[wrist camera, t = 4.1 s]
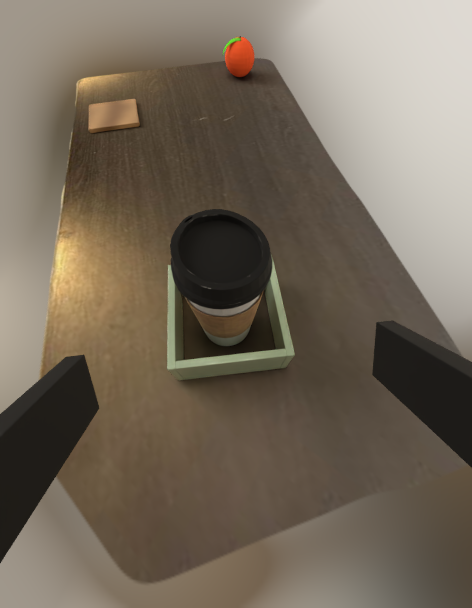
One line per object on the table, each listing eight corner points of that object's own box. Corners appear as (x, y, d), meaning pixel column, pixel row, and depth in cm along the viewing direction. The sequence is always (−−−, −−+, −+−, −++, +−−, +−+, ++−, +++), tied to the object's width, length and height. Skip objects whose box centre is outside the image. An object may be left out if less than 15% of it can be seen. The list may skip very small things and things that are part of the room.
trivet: (90, 133, 53) (88, 129, 52) (90, 108, 57) (88, 104, 57) (139, 126, 54) (138, 122, 53) (136, 102, 58) (135, 98, 58)
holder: (177, 380, 29) (167, 369, 25) (176, 287, 35) (167, 265, 31) (286, 367, 30) (294, 355, 26) (267, 278, 36) (271, 255, 32)
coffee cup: (226, 284, 35) (220, 190, 22) (274, 323, 33) (299, 242, 19) (179, 324, 33) (140, 244, 19) (227, 371, 30) (219, 315, 17)
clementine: (230, 86, 62) (229, 46, 56) (217, 74, 65) (215, 35, 59) (258, 78, 64) (261, 38, 58) (244, 67, 67) (245, 28, 60)
